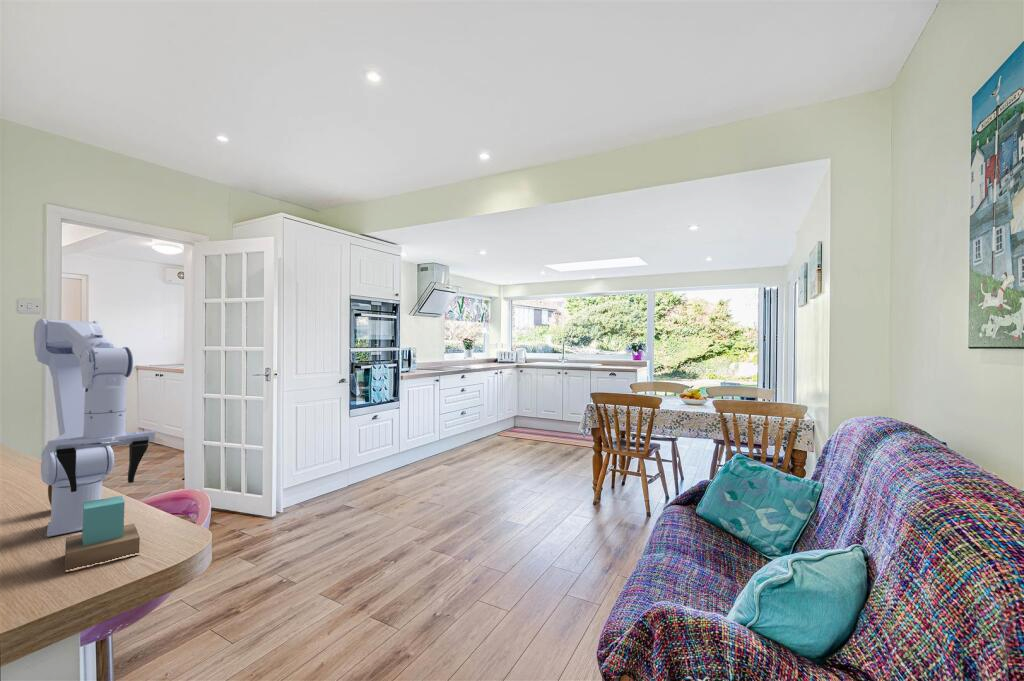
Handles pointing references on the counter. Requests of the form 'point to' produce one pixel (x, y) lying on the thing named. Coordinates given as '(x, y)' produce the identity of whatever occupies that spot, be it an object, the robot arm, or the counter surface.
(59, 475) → the robot arm
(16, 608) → the counter surface
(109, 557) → the walnut plinth
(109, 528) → the teal block
